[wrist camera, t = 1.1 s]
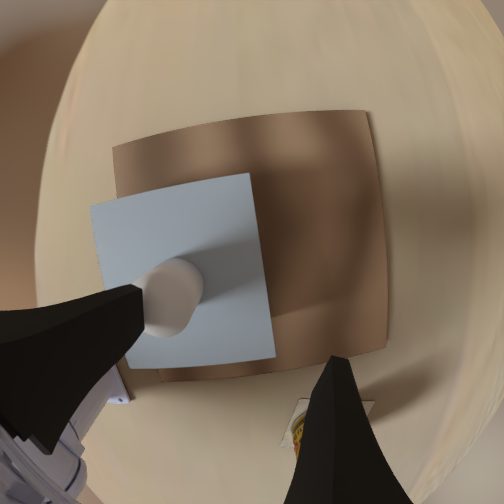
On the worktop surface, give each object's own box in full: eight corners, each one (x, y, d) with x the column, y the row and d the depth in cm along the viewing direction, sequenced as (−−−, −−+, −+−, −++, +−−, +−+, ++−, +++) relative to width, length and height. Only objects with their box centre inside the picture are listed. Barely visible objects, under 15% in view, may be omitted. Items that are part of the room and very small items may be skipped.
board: (164, 377, 22) (161, 382, 21) (116, 149, 19) (112, 147, 18) (382, 343, 22) (386, 347, 21) (361, 113, 19) (365, 110, 18)
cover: (155, 332, 20) (108, 400, 11) (128, 206, 19) (52, 207, 10) (268, 319, 20) (283, 393, 11) (248, 183, 19) (249, 159, 10)
